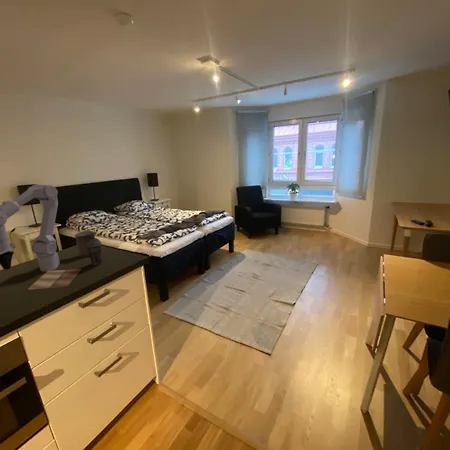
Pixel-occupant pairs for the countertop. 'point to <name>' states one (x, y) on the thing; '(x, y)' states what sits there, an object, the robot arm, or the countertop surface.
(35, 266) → the countertop surface
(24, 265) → the countertop surface
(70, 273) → the laid board
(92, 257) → the beverage cup
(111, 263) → the countertop surface
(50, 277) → the plank
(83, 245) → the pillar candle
